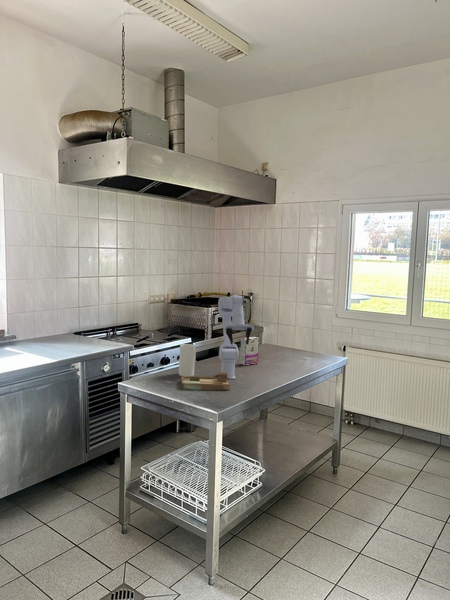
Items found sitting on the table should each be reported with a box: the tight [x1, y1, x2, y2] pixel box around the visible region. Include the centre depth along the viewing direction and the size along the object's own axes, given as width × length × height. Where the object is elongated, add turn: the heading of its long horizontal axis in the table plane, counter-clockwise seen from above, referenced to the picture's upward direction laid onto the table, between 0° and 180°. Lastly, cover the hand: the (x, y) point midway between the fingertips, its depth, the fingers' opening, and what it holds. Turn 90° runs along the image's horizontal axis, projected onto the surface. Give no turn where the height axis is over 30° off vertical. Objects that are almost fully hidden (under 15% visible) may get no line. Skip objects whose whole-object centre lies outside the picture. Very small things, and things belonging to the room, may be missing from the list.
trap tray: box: [180, 376, 231, 391], centre depth 219 cm, size 13×23×3 cm, turn 97°
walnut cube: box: [217, 371, 228, 382], centre depth 223 cm, size 4×4×4 cm
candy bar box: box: [239, 336, 260, 365], centre depth 270 cm, size 11×5×16 cm, turn 131°
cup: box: [178, 343, 196, 377], centre depth 238 cm, size 8×8×16 cm
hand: (239, 343), depth 212 cm, fingers open, 7 cm apart
